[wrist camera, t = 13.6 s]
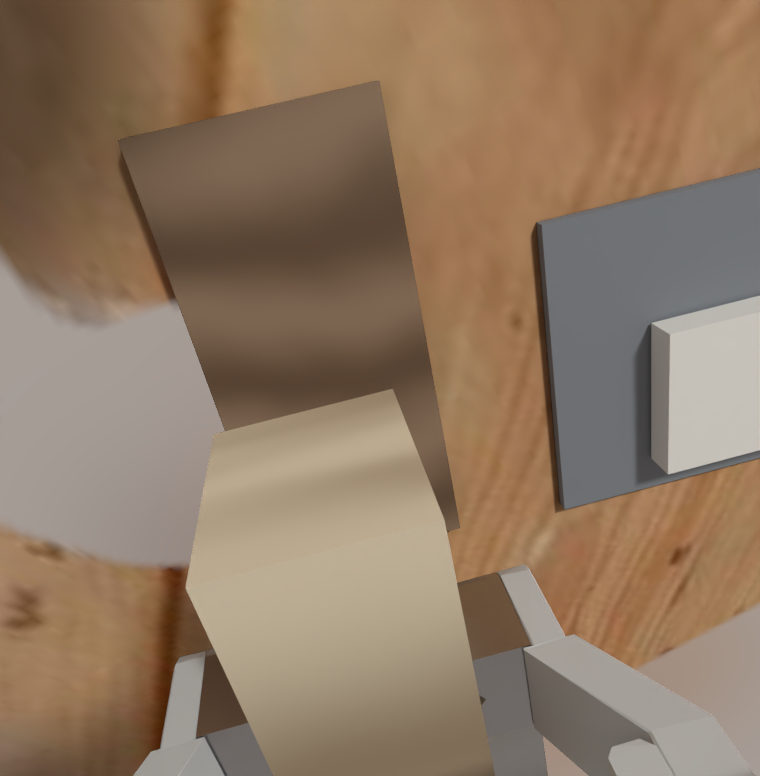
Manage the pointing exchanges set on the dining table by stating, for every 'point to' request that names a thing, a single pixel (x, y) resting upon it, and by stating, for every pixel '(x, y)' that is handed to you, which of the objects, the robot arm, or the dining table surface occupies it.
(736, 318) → the tile
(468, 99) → the dining table surface
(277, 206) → the board
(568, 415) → the mat
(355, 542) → the beige upright plank
